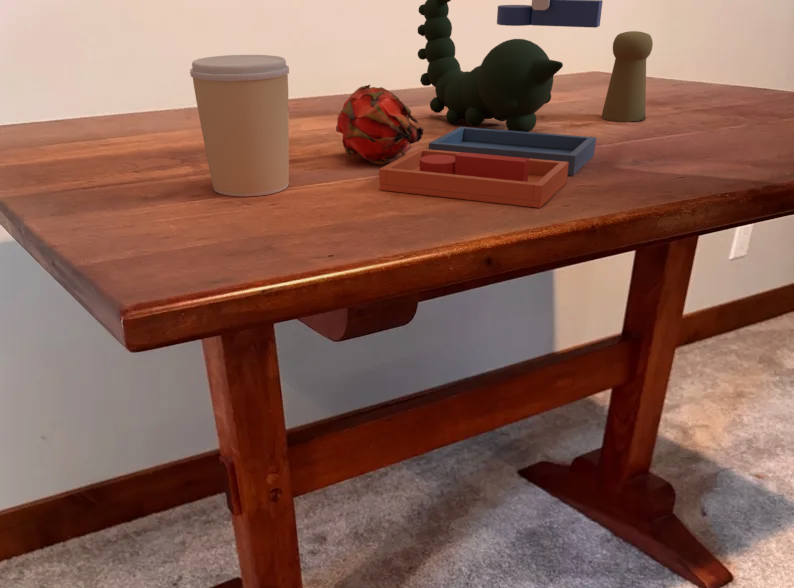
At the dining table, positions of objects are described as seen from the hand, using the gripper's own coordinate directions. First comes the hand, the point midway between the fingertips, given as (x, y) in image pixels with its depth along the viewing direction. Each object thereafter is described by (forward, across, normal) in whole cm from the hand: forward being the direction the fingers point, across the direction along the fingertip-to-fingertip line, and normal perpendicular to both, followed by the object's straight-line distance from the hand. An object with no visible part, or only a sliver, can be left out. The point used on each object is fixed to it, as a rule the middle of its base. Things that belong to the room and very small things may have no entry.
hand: (545, 8), depth 86 cm
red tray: (+15, -17, +1) cm, 23 cm away
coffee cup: (+15, -26, +22) cm, 38 cm away
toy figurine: (+15, +13, +10) cm, 23 cm away
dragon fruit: (+15, -10, +15) cm, 24 cm away
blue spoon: (+2, 0, 0) cm, 2 cm away
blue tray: (+15, -4, +1) cm, 16 cm away
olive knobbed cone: (+15, +26, -6) cm, 31 cm away
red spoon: (+15, -17, +2) cm, 22 cm away
